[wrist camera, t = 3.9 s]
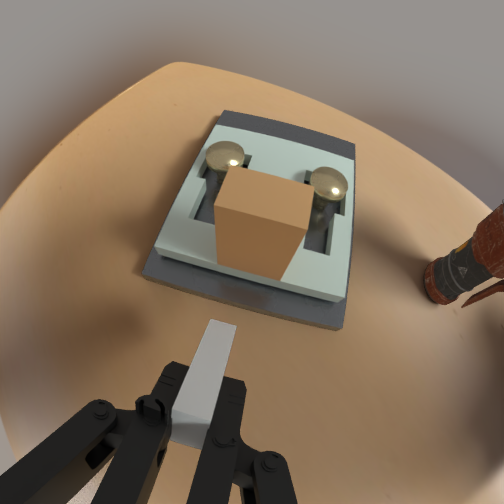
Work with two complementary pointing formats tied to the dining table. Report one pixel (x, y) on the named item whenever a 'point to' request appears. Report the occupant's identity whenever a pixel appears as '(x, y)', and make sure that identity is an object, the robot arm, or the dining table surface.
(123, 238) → the dining table surface
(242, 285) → the mounting plate
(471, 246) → the grenade
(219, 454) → the robot arm
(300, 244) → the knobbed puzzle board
